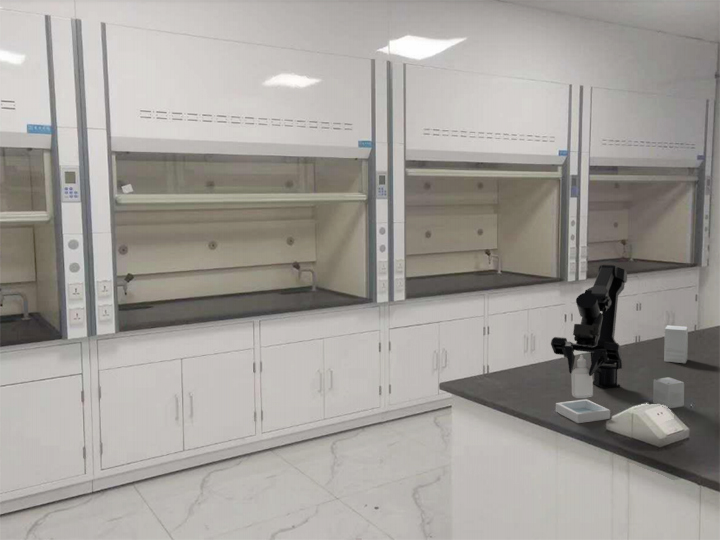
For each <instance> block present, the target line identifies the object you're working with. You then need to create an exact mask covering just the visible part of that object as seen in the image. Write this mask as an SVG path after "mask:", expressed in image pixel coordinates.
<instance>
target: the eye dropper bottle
mask: <svg viewBox="0 0 720 540" xmlns="http://www.w3.org/2000/svg"><path fill="white" fill-rule="evenodd" d="M576 363H577V364H576V367H573V370H572V372H571V373H570V374H571V395H572V397H574V398H575V399H576V398H577V399H588V398H590V397H593V395H594V384H593V381H594V373H593V374H592V375H591V376H589V371H590V367H588V366H587V359H586V358H584V355H583V354H580V355H579V358H577V360H576Z"/></svg>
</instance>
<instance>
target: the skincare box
mask: <svg viewBox="0 0 720 540" xmlns="http://www.w3.org/2000/svg"><path fill="white" fill-rule="evenodd" d="M652 385H653V386H652V387H653V391H652V392H653V393H652V394H653V397H652V399H653V400H652V401H653V402H652V403H653V404H655V403H660V404H664V405H666V406H668V407H669V408H668V409H674V408H683V407H684V406H685V382H683V381H681V380H678V379H675V378H672V377H661V378H654V379H653V384H652Z"/></svg>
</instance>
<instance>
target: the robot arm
mask: <svg viewBox="0 0 720 540" xmlns="http://www.w3.org/2000/svg"><path fill="white" fill-rule="evenodd" d="M627 282H628V272H627V271H626V269H624V268H622V267H619V266H617V265H616V264H609V263H607V264H605V263H604V264H603V263H602V264H600V265H599V267H598V269H597V276H596V279H595V281H594V282H593V285H592V287H589V288H587V289H585V291H584V292H583V293H581V294H579V295H578V296H577V297H576V299H575V302H576V306H577V309H578V313H579V316H580V317H581V322H580V323H574V325H573V332H572V333H573V334H572V336H574V337H573V338H574V342H575V343H573V342H572V341H568V339H567V338H566V337H558V336H554V337H552V338H551V341H550V346H551V349H552V352H553V353H554V354H555V355H561V356H564V358H567V363H568V364H567V365H568V371H569V374H571V372H572V370H573V369H574V364H575V359H576V356H575V354H574V353H575V351H576V352H577V351H578V352H584V353H585V352H586V353H590V363H591V364H590V367H589V368H590V371H589V376H591V375H592V374H593V385H596V386H598V387H600V388H603V389H607V388H609V389H610V388H616V387H621V384H620V383H618V370H619V369H623V360H622V359H623V358H622V350H621V345H620V344H619V343H618V342H617V341H616V340H615V333H616V321H617V314H618V313H617V311H618V301H619V295H621V293H622V292H623V291H624V289H625V285H626V283H627Z"/></svg>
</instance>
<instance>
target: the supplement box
mask: <svg viewBox="0 0 720 540" xmlns="http://www.w3.org/2000/svg"><path fill="white" fill-rule="evenodd" d="M688 336H689V327H688V326H683V325H669V324H667V325H666V326H665V327H664V349H663V351H664V352H663V353H664V354H663V355H664V359H663V361H664V362H667V363H678V364H679V363H680V364H686V363H687V361H688V345H689V344H688V340H689V337H688Z"/></svg>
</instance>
